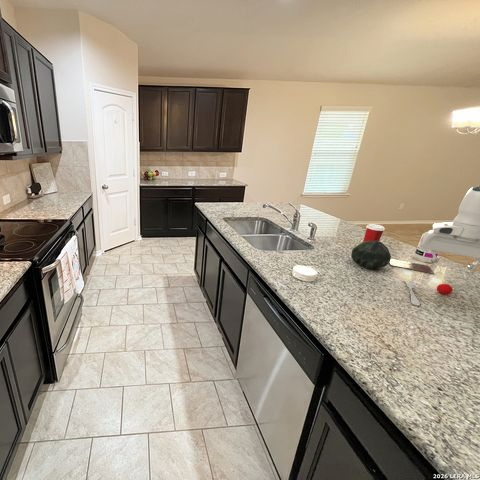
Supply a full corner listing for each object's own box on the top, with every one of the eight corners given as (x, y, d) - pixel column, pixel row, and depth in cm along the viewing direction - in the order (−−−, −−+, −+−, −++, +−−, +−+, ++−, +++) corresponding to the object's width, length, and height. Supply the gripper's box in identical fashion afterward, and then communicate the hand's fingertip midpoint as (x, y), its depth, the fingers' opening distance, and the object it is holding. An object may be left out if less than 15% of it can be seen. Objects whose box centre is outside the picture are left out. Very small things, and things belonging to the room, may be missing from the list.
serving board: (428, 266, 128) (428, 265, 128) (433, 274, 120) (434, 273, 120) (387, 258, 136) (387, 257, 136) (390, 265, 128) (390, 264, 128)
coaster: (319, 283, 112) (321, 276, 110) (295, 280, 114) (296, 273, 112) (311, 272, 121) (313, 266, 120) (289, 270, 123) (290, 263, 121)
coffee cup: (374, 248, 148) (382, 224, 143) (378, 254, 141) (387, 229, 136) (357, 246, 152) (364, 222, 146) (360, 251, 145) (368, 226, 139)
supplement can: (436, 261, 134) (448, 234, 128) (431, 264, 130) (443, 237, 124) (415, 255, 140) (426, 230, 135) (410, 258, 136) (421, 232, 131)
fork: (408, 308, 99) (411, 303, 98) (402, 281, 114) (404, 276, 113) (418, 311, 97) (421, 305, 96) (410, 283, 112) (413, 278, 111)
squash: (361, 246, 137) (360, 231, 127) (395, 257, 126) (398, 241, 116) (346, 266, 135) (345, 252, 125) (380, 279, 124) (382, 265, 114)
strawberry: (447, 292, 106) (452, 283, 104) (451, 297, 102) (456, 288, 101) (433, 289, 108) (437, 280, 106) (436, 294, 104) (441, 285, 103)
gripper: (510, 234, 87) (491, 269, 92) (427, 223, 99) (415, 255, 104) (517, 239, 83) (497, 276, 88) (430, 227, 95) (416, 260, 100)
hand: (452, 264), depth 96 cm, fingers open, 8 cm apart
